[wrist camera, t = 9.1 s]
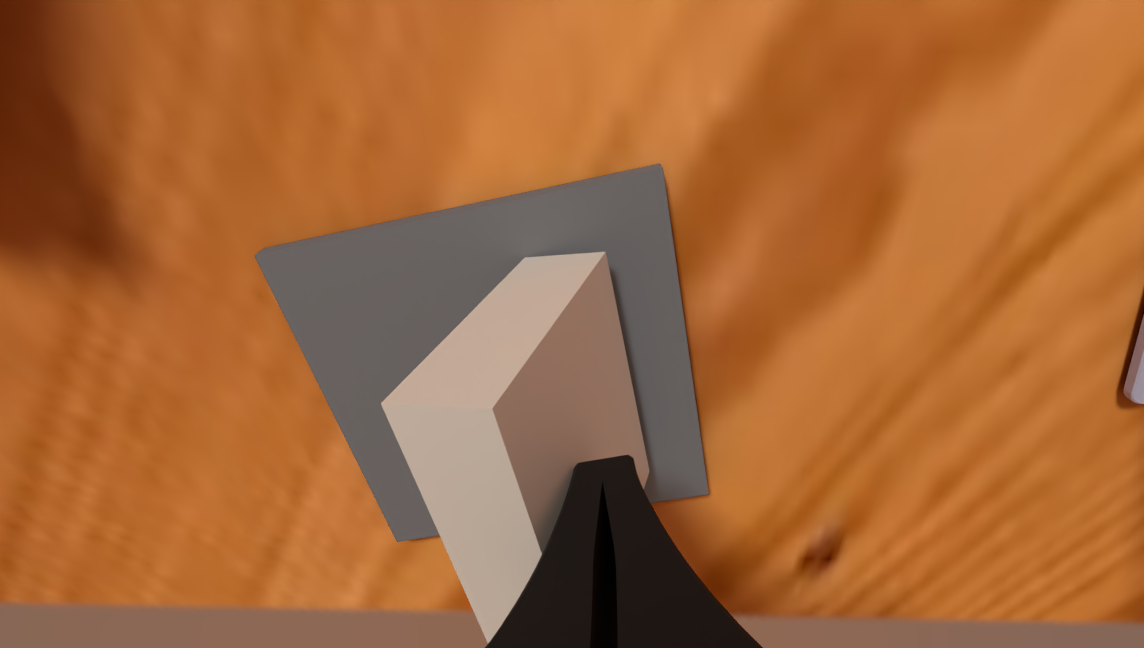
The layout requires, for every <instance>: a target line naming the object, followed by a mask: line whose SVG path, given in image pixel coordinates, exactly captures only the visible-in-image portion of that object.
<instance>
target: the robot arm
mask: <svg viewBox="0 0 1144 648" xmlns="http://www.w3.org/2000/svg"><path fill="white" fill-rule="evenodd" d="M1124 395H1125V396H1126V397H1127V398H1128V399H1130V400H1131V401H1133V402H1134V403H1137V404H1144V316H1143V319H1142V323H1141V327H1140V330H1139V334H1138V338H1137V342H1136V345H1135V349H1134V353H1133V356H1132V360H1131V364H1130V367H1129V371H1128V375H1127V378H1126V382H1125V386H1124ZM485 648H762V647H761V646H760V645H759V644H758V643H757V642H756V641H755V640H754V639H753V638H752V637H751V636H750V635H749V634H748V633H747V632H746V631H745V630H744V629H743V628H742V627H741V626H740V625H739V623H738V622H737V621H736V620H735V619H734V618H733V617H732V616H731V615H730V613H729V612H728V611H727V610H726V609H725V608H724V607H723V606H722V605H721V604H720V602H719V601H718V600H717V599H716V598H715V597H714V596H713V595H712V593H711V592H710V591H709V590H708V589H707V587H706V586H705V585H704V584H703V582H702V581H701V580H700V579H699V577H698V576H697V575H696V573H695V572H694V571H693V570H692V568H691V567H690V566H689V564H688V563H687V561H686V560H685V559H684V557H683V556H682V554H681V553H680V552H679V550H678V549H677V547H676V546H675V544H674V543H673V541H672V540H671V538H670V536H669V535H668V533H667V532H666V530H665V528H664V527H663V525H662V524H661V522H660V520H659V518H658V516H657V515H656V513H655V511H654V509H653V507H652V506H651V504H650V502H649V500H648V498H647V496H646V494H645V491H644V489H643V487H642V485H641V482H640V480H639V477H638V474H637V471H636V467H635V463H634V458H633V457H631V456H630V455H623V456H616V457H610V458H604V459H598V460H592V461H586V462H580V463H577V464H576V466H575V467H574V470H573V475H572V478H571V482H570V485H569V488H568V492H567V495H566V497H565V500H564V503H563V506H562V509H561V511H560V514H559V516H558V519H557V521H556V524H555V526H554V529H553V531H552V534H551V536H550V538H549V540H548V543H547V545H546V547H545V549H544V551H543V553H542V555H541V557H540V559H539V562H538V564H537V566H536V568H535V570H534V571H533V573H532V575H531V577H530V579H529V581H528V583H527V584H526V586H525V588H524V590H523V591H522V593H521V595H520V596H519V598H518V600H517V602H516V603H515V605H514V606H513V608H512V609H511V611H510V612H509V614H508V616H507V617H506V619H505V620H504V622H503V623H502V625H501V626H500V628H499V629H498V631H497V632H496V634H495V635H494V636H493V638H492V639H491V641H490V642H489V643H488V645H487V646H486V647H485Z"/></svg>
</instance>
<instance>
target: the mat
mask: <svg viewBox="0 0 1144 648" xmlns="http://www.w3.org/2000/svg"><path fill="white" fill-rule="evenodd" d="M594 252H606V256H607V261H608V266H609V271H610V276H611V281H612V286H613V291H614V296H615V301H616V306H617V311H618V316H619V321H620V326H621V331H622V336H623V341H624V346H625V351H626V356H627V361H628V366H629V371H630V376H631V381H632V386H633V391H634V396H635V401H636V406H637V411H638V416H639V421H640V426H641V431H642V436H643V441H644V446H645V451H646V456H647V461H648V466H649V474H648V477H647V480H646V484H645V487H644V491H645V494H646V496H647V498H648V500H649V502H650V503H656V502H662V501H669V500H675V499H682V498H688V497H695V496H701V495H708V494H709V492H708V485H707V478H706V471H705V464H704V457H703V450H702V443H701V435H700V428H699V421H698V414H697V407H696V400H695V393H694V386H693V379H692V372H691V365H690V357H689V350H688V343H687V336H686V329H685V322H684V315H683V308H682V301H681V294H680V287H679V279H678V272H677V265H676V258H675V251H674V244H673V237H672V230H671V223H670V216H669V209H668V201H667V194H666V187H665V180H664V173H663V168H662V166H661V164H656V165H651V166H646V167H642V168H637V169H632V170H628V171H623V172H618V173H614V174H609V175H604V176H600V177H595V178H590V179H586V180H581V181H576V182H572V183H567V184H562V185H558V186H553V187H548V188H544V189H539V190H534V191H530V192H525V193H520V194H516V195H511V196H506V197H502V198H497V199H492V200H488V201H483V202H478V203H473V204H469V205H464V206H459V207H455V208H450V209H445V210H441V211H436V212H431V213H427V214H422V215H417V216H413V217H408V218H403V219H399V220H394V221H389V222H385V223H380V224H375V225H371V226H366V227H361V228H357V229H352V230H347V231H343V232H338V233H333V234H329V235H324V236H319V237H315V238H310V239H305V240H301V241H296V242H291V243H287V244H282V245H277V246H273V247H268V248H264V249H262V250H261V251H260V252H258V253H257V254H255V255H254V256H255V258H256V260H257V262H258V264H259V266H260V268H261V270H262V272H263V274H264V276H265V278H266V280H267V282H268V284H269V286H270V288H271V290H272V292H273V294H274V296H275V298H276V300H277V302H278V304H279V306H280V308H281V310H282V312H283V314H284V316H285V318H286V320H287V322H288V324H289V326H290V328H291V330H292V332H293V334H294V336H295V338H296V340H297V342H298V344H299V346H300V348H301V350H302V352H303V354H304V356H305V358H306V360H307V362H308V364H309V366H310V368H311V370H312V372H313V374H314V376H315V378H316V380H317V382H318V384H319V386H320V388H321V390H322V392H323V395H324V397H325V399H326V401H327V403H328V405H329V407H330V409H331V411H332V413H333V415H334V417H335V419H336V421H337V423H338V425H339V427H340V429H341V431H342V433H343V435H344V437H345V439H346V441H347V443H348V445H349V447H350V449H351V451H352V453H353V455H354V457H355V459H356V461H357V463H358V465H359V467H360V469H361V471H362V473H363V475H364V477H365V479H366V481H367V483H368V485H369V487H370V489H371V491H372V493H373V495H374V497H375V499H376V501H377V503H378V505H379V507H380V509H381V511H382V513H383V515H384V517H385V519H386V521H387V523H388V525H389V527H390V529H391V531H392V533H393V535H394V537H395V539H396V541H397V542H401V541H407V540H414V539H420V538H427V537H433V536H440V535H439V533H438V530H437V528H436V526H435V524H434V521H433V519H432V517H431V515H430V513H429V510H428V508H427V506H426V504H425V501H424V499H423V497H422V495H421V492H420V490H419V488H418V486H417V483H416V481H415V479H414V477H413V475H412V472H411V470H410V468H409V466H408V463H407V461H406V459H405V457H404V454H403V452H402V450H401V448H400V446H399V443H398V441H397V439H396V437H395V434H394V432H393V430H392V428H391V425H390V423H389V421H388V419H387V416H386V414H385V412H384V410H383V408H382V405H381V403H382V402H383V401H384V400H385V399H386V398H387V397H388V396H389V395H390V394H391V393H392V392H393V391H394V390H395V389H396V388H397V387H398V385H399V384H400V383H401V382H402V381H403V380H404V379H405V378H406V377H407V376H408V375H409V374H410V373H411V372H412V371H413V370H414V369H415V368H416V367H417V366H418V365H419V364H420V363H421V362H422V361H423V360H424V359H425V358H426V357H427V356H428V355H429V354H430V353H431V352H432V351H433V350H434V349H435V348H436V347H437V346H438V345H439V344H440V343H441V342H442V341H443V340H444V339H445V338H446V337H447V336H448V335H449V334H450V333H451V332H452V331H453V330H454V329H455V328H456V327H457V326H458V325H459V324H460V323H461V322H462V321H463V320H464V319H465V318H466V317H467V316H468V315H469V314H470V313H471V312H472V311H473V310H474V309H475V308H476V307H477V305H478V304H479V303H480V302H481V301H482V300H483V299H484V298H485V297H486V296H487V295H488V294H489V293H490V292H491V291H492V290H493V289H494V288H495V287H496V286H497V285H498V284H499V283H500V282H501V281H502V280H503V279H504V278H505V277H506V276H507V275H508V274H509V273H510V272H511V271H512V270H513V269H514V268H515V267H516V266H517V265H518V264H519V263H520V262H521V261H522V260H523V259H524V258H525V257H539V256H553V255H566V254H580V253H594Z"/></svg>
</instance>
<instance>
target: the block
mask: <svg viewBox="0 0 1144 648" xmlns="http://www.w3.org/2000/svg"><path fill="white" fill-rule="evenodd" d="M381 405H382V408H383V410H384V412H385V414H386V416H387V419H388V421H389V423H390V425H391V428H392V430H393V432H394V434H395V437H396V439H397V441H398V443H399V446H400V448H401V450H402V452H403V454H404V457H405V459H406V461H407V463H408V466H409V468H410V470H411V472H412V475H413V477H414V479H415V481H416V483H417V486H418V488H419V490H420V492H421V495H422V497H423V499H424V501H425V504H426V506H427V508H428V510H429V513H430V515H431V517H432V519H433V521H434V524H435V526H436V528H437V530H438V533H439V535H440V537H441V539H442V542H443V544H444V546H445V548H446V550H447V553H448V555H449V557H450V559H451V562H452V564H453V566H454V568H455V571H456V573H457V575H458V577H459V580H460V582H461V584H462V586H463V588H464V591H465V593H466V595H467V597H468V600H469V602H470V604H471V606H472V609H473V611H474V613H475V615H476V617H477V620H478V622H479V624H480V626H481V629H482V631H483V633H484V635H485V637H486V640H487V642H488V643H489V642H490V641H491V639H492V638H493V636H494V635H495V634H496V632H497V631H498V629H499V628H500V626H501V625H502V623H503V622H504V620H505V619H506V617H507V616H508V614H509V612H510V611H511V609H512V608H513V606H514V605H515V603H516V602H517V600H518V598H519V596H520V595H521V593H522V591H523V590H524V588H525V586H526V584H527V583H528V581H529V579H530V577H531V575H532V573H533V571H534V570H535V568H536V566H537V564H538V562H539V559H540V557H541V555H542V553H543V551H544V549H545V547H546V545H547V543H548V540H549V538H550V536H551V534H552V531H553V529H554V526H555V524H556V521H557V519H558V516H559V514H560V511H561V509H562V506H563V503H564V500H565V497H566V495H567V492H568V488H569V485H570V482H571V478H572V475H573V470H574V467H575V466H576V464H577V463H580V462H586V461H592V460H598V459H604V458H610V457H616V456H623V455H630V456H631V457H633V458H634V463H635V467H636V471H637V474H638V477H639V480H640V482H641V485H642V487H643V489H644V487H645V484H646V480H647V477H648V474H649V466H648V461H647V456H646V451H645V446H644V441H643V436H642V431H641V426H640V421H639V416H638V411H637V406H636V401H635V396H634V391H633V386H632V381H631V376H630V371H629V366H628V361H627V356H626V351H625V346H624V341H623V336H622V331H621V326H620V321H619V316H618V311H617V306H616V301H615V296H614V291H613V286H612V281H611V276H610V271H609V266H608V261H607V256H606V252H594V253H580V254H566V255H553V256H539V257H525V258H524V259H523V260H522V261H521V262H520V263H519V264H518V265H517V266H516V267H515V268H514V269H513V270H512V271H511V272H510V273H509V274H508V275H507V276H506V277H505V278H504V279H503V280H502V281H501V282H500V283H499V284H498V285H497V286H496V287H495V288H494V289H493V290H492V291H491V292H490V293H489V294H488V295H487V296H486V297H485V298H484V299H483V300H482V301H481V302H480V303H479V304H478V305H477V307H476V308H475V309H474V310H473V311H472V312H471V313H470V314H469V315H468V316H467V317H466V318H465V319H464V320H463V321H462V322H461V323H460V324H459V325H458V326H457V327H456V328H455V329H454V330H453V331H452V332H451V333H450V334H449V335H448V336H447V337H446V338H445V339H444V340H443V341H442V342H441V343H440V344H439V345H438V346H437V347H436V348H435V349H434V350H433V351H432V352H431V353H430V354H429V355H428V356H427V357H426V358H425V359H424V360H423V361H422V362H421V363H420V364H419V365H418V366H417V367H416V368H415V369H414V370H413V371H412V372H411V373H410V374H409V375H408V376H407V377H406V378H405V379H404V380H403V381H402V382H401V383H400V384H399V385H398V387H397V388H396V389H395V390H394V391H393V392H392V393H391V394H390V395H389V396H388V397H387V398H386V399H385V400H384V401H383V402H382V403H381Z"/></svg>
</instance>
